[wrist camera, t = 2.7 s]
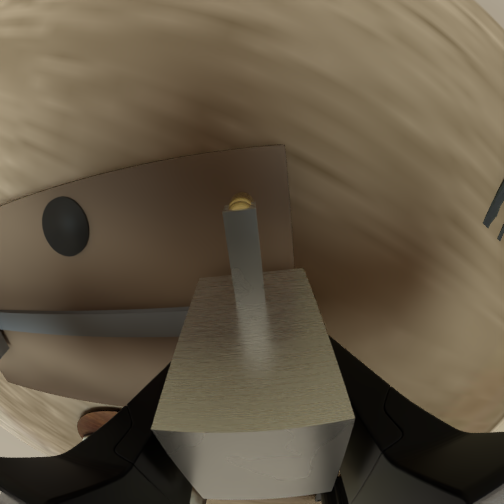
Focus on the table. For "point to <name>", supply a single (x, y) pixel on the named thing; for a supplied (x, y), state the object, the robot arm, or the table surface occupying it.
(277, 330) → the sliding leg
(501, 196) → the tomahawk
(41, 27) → the table surface
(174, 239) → the cube rail panel
